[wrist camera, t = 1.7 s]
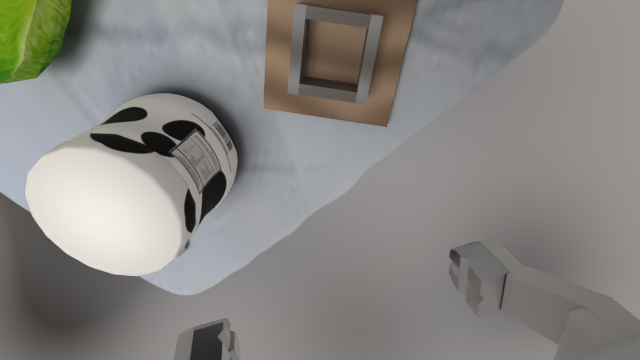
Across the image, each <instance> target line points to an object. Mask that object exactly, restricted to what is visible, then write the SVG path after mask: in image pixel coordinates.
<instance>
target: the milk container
mask: <svg viewBox="0 0 640 360" xmlns="http://www.w3.org/2000/svg"><path fill="white" fill-rule="evenodd" d="M237 162H238V159H237V152H236V147H235V144H234V141H233V139H232V137H231V134H230V133H229V131H228V130H227V128H226V127H225V125H224V124H223V123H222V121H221V120H220V119H219V118H218V117H217V116H216V115H215V114H214V113H213V112H211V111H210V110H209V109H208V108H206V107H205V106H203V105H202V104H200V103H198V102H196V101H194V100H192V99H190V98H187V97H184V96H181V95H177V94H169V93H158V94H149V95H144V96H140V97H137V98H134V99H131V100H129V101H127V102H125V103H123V104H122V105H120V106H119V107H117V108H116V109H115V110H113V111H112V112H111V113H110V114H109V115H108V116H107V118H106V119H105V120H104V121H103V122H102V124H101V125H99V126H97V127H94V128H92V129H90V130H88V131H85V132H83V133H81V134H79V135H77V136H76V137H74V138H73V139H71V140H70V141H67V142H64V143H62V144H60V145H58V146H56V147H55V148H53V149H52V150H50V151H49V152H47V153H46V154H45V155H44V156H42V157H41V158H40V159H39V161H38V162H37V163H36V164H35V166H34V167H33V168H32V169H31V170H30V172H29V173H28V176H27V184H26V192H25V195H26V198H27V201H28V204H29V207H30V210H31V213H32V216H33V218H34V219H35V220H36V222H37V223H38V225H39V226H40V227H41V229H42V230H43V231H44V233H45V234H46V235H47V237H48V238H50V239H51V240H52V241H53V242H54V243H55V244H56V245H57V246H59V247H60V248H61V249H62V250H63V251H64V252H65V253H67V254H68V255H70V256H72V257H74V258H75V259H77V260H79V261H81V262H83V263H84V264H86V265H88V266H90V267H92V268H96V269H99V270H102V271H106V272H108V273H112V274H117V275H131V276H139V275H143V274H148V273H152V272H156V271H158V270H159V269H161V268H162V267H164V266H165V265H166V264H168V263H169V262H171V261H172V260H173V259H174V258H175V257H176V256H177V255H178V254H179V253H180V252H181V250H182V249H183V248H184V247H185V245H186V243H187V241H188V240H189V239H190V238H191V237H192V235H193V234H194V233H195V231H196V229H197V228H198V226H199V224H200V223H201V221H202V219H203V218H204V216H206V215H207V214H209V213H210V212H211V211H213V210H214V209H215V208H217V207H218V206H219V205H220V204H221V203H222V201H223V200H224V199H225V198H226V196H227V195H228V193H229V191H230V190H231V187H232V185H233V183H234V180H235V176H236V171H237Z"/></svg>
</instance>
